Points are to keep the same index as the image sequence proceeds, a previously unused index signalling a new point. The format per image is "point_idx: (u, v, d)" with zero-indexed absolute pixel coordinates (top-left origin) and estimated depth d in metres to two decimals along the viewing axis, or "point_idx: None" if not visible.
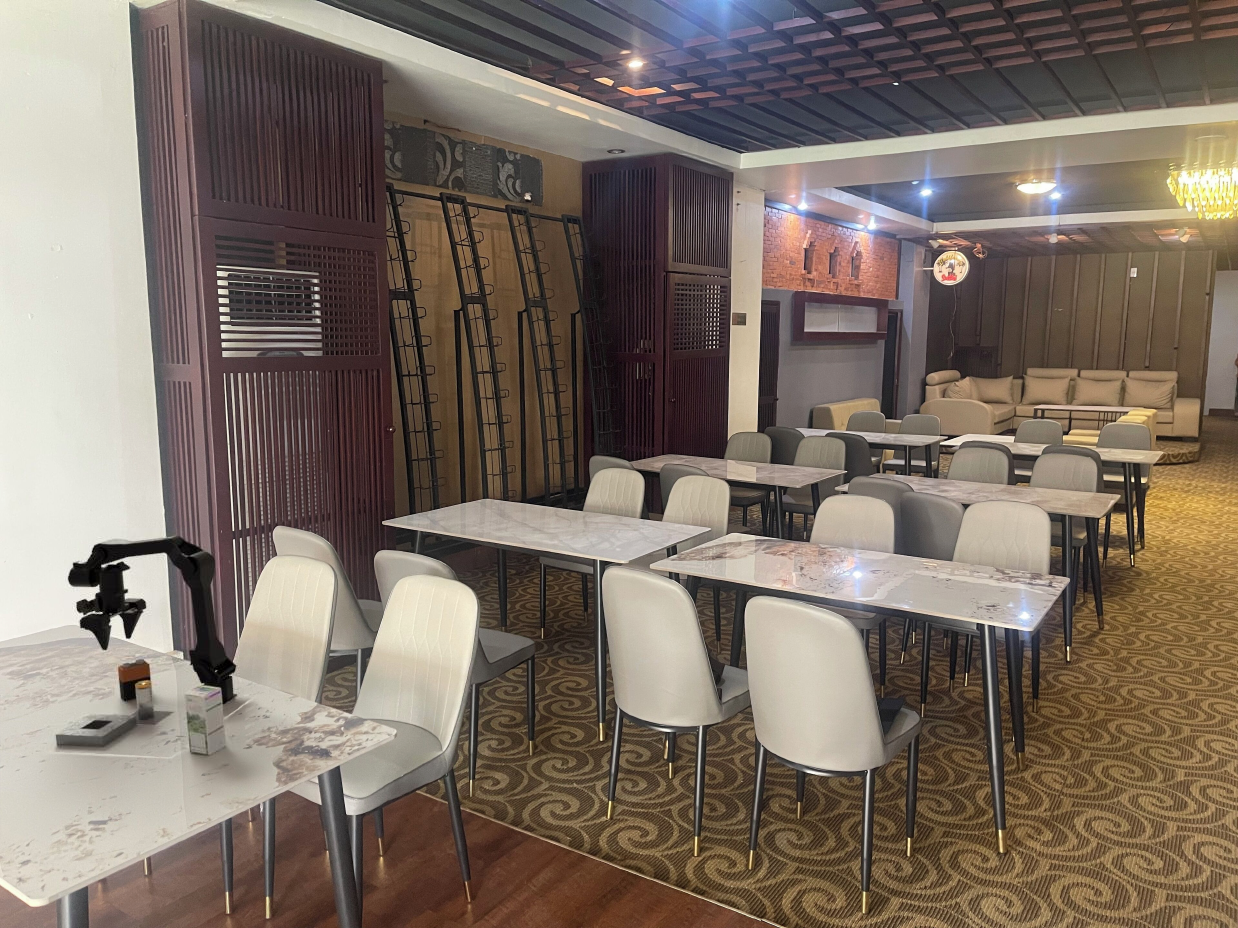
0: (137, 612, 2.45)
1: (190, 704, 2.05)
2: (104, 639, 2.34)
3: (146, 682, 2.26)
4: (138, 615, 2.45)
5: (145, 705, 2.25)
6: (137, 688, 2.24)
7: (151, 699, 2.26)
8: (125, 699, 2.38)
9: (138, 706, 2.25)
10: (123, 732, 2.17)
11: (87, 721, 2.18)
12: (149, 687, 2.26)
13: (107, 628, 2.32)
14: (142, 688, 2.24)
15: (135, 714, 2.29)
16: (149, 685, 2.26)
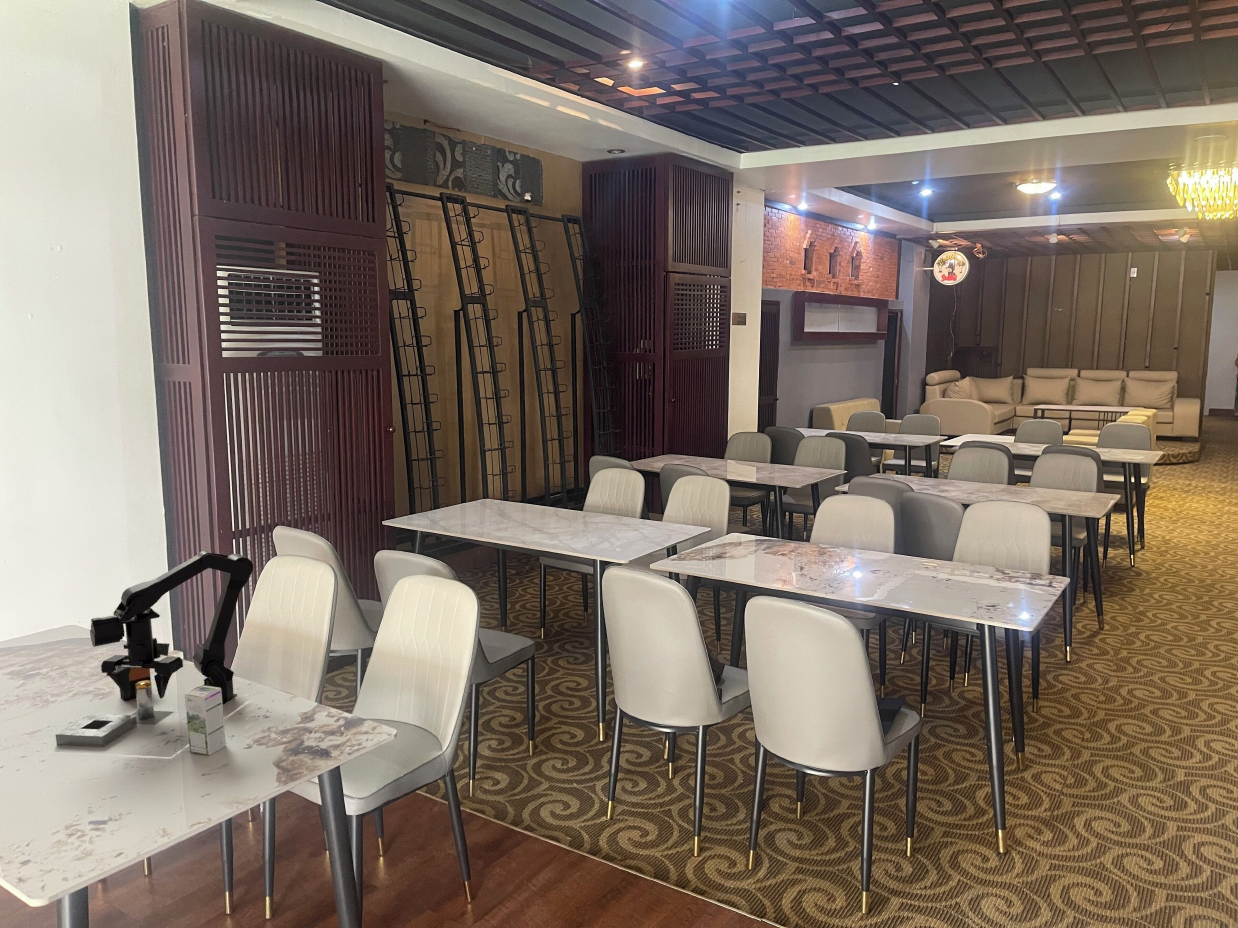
0: None
1: (190, 704, 2.05)
2: None
3: (146, 682, 2.26)
4: (156, 678, 2.22)
5: (145, 705, 2.25)
6: (137, 688, 2.24)
7: (151, 699, 2.26)
8: (125, 699, 2.38)
9: (138, 706, 2.25)
10: (123, 732, 2.17)
11: (87, 721, 2.18)
12: (149, 687, 2.26)
13: (110, 675, 2.24)
14: (142, 688, 2.24)
15: (135, 714, 2.29)
16: (149, 685, 2.26)
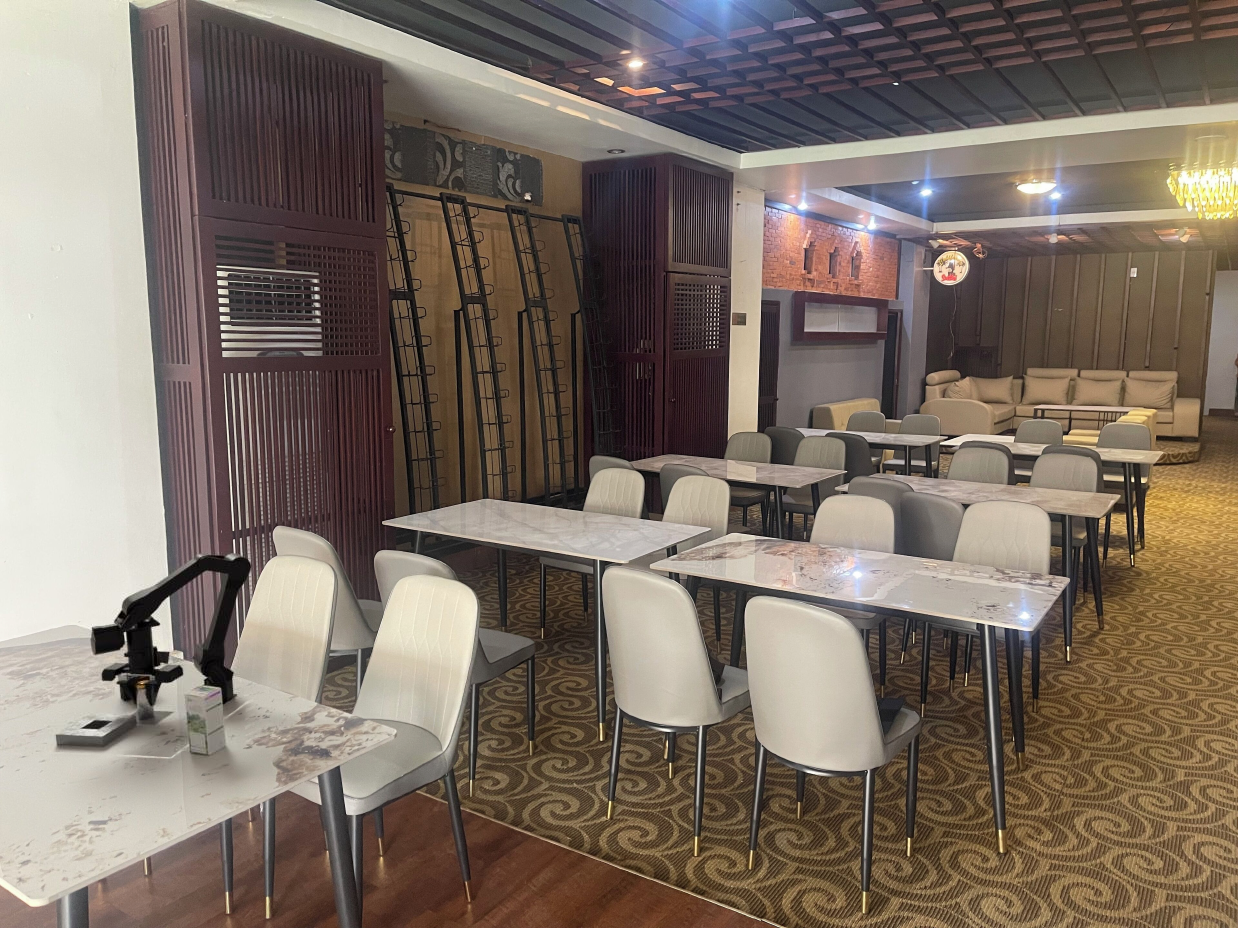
0: (150, 682, 2.23)
1: (190, 704, 2.05)
2: None
3: (146, 682, 2.26)
4: (146, 686, 2.23)
5: (145, 705, 2.25)
6: (137, 688, 2.24)
7: None
8: (125, 699, 2.38)
9: (138, 706, 2.25)
10: (123, 732, 2.17)
11: (87, 721, 2.18)
12: None
13: (120, 684, 2.24)
14: (142, 688, 2.24)
15: (135, 714, 2.29)
16: None
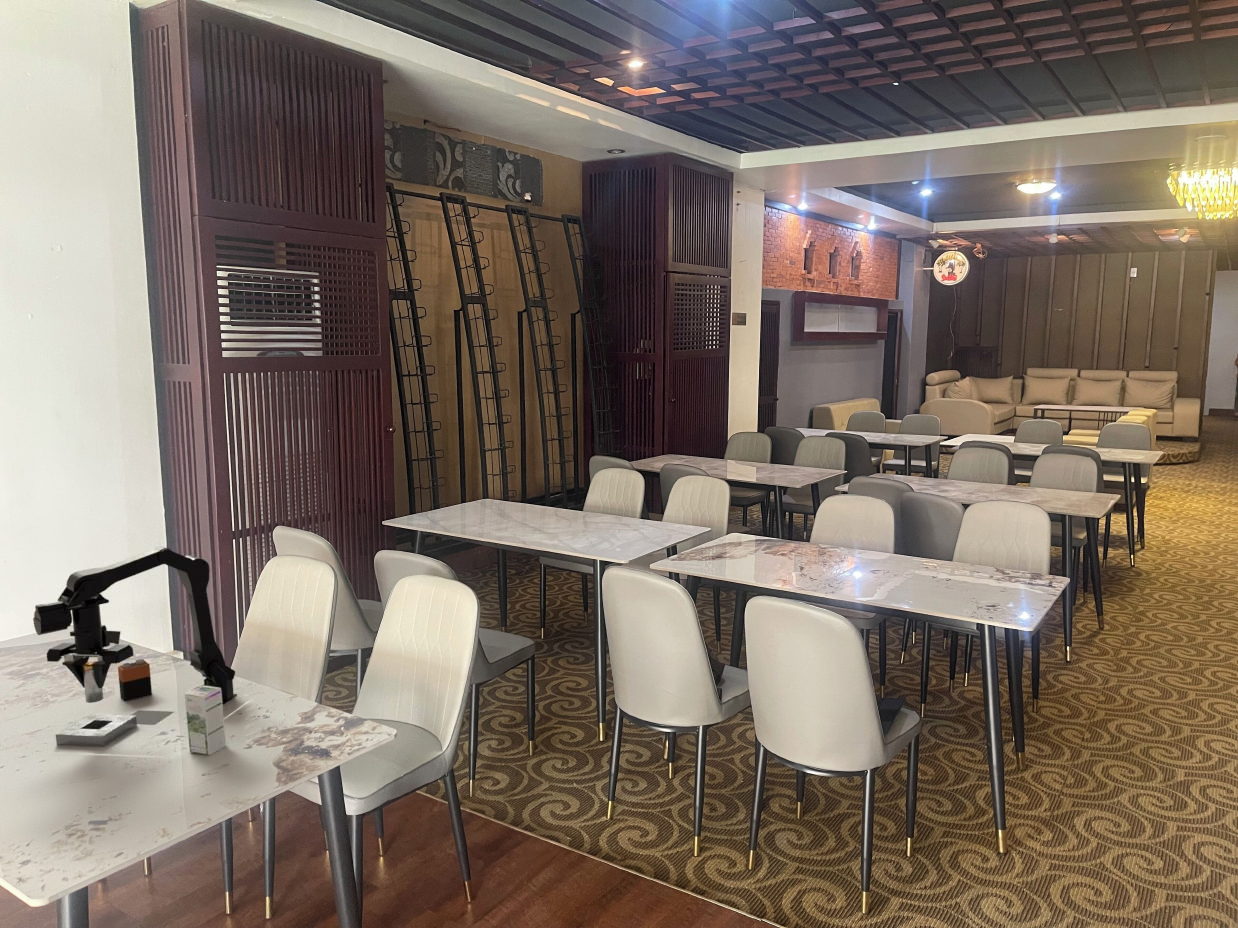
0: (97, 663, 2.12)
1: (190, 704, 2.05)
2: None
3: None
4: (94, 666, 2.12)
5: (92, 686, 2.14)
6: (84, 669, 2.13)
7: None
8: (125, 699, 2.38)
9: (85, 688, 2.14)
10: (123, 732, 2.17)
11: (87, 721, 2.18)
12: None
13: (66, 665, 2.12)
14: (89, 669, 2.13)
15: (135, 714, 2.29)
16: None
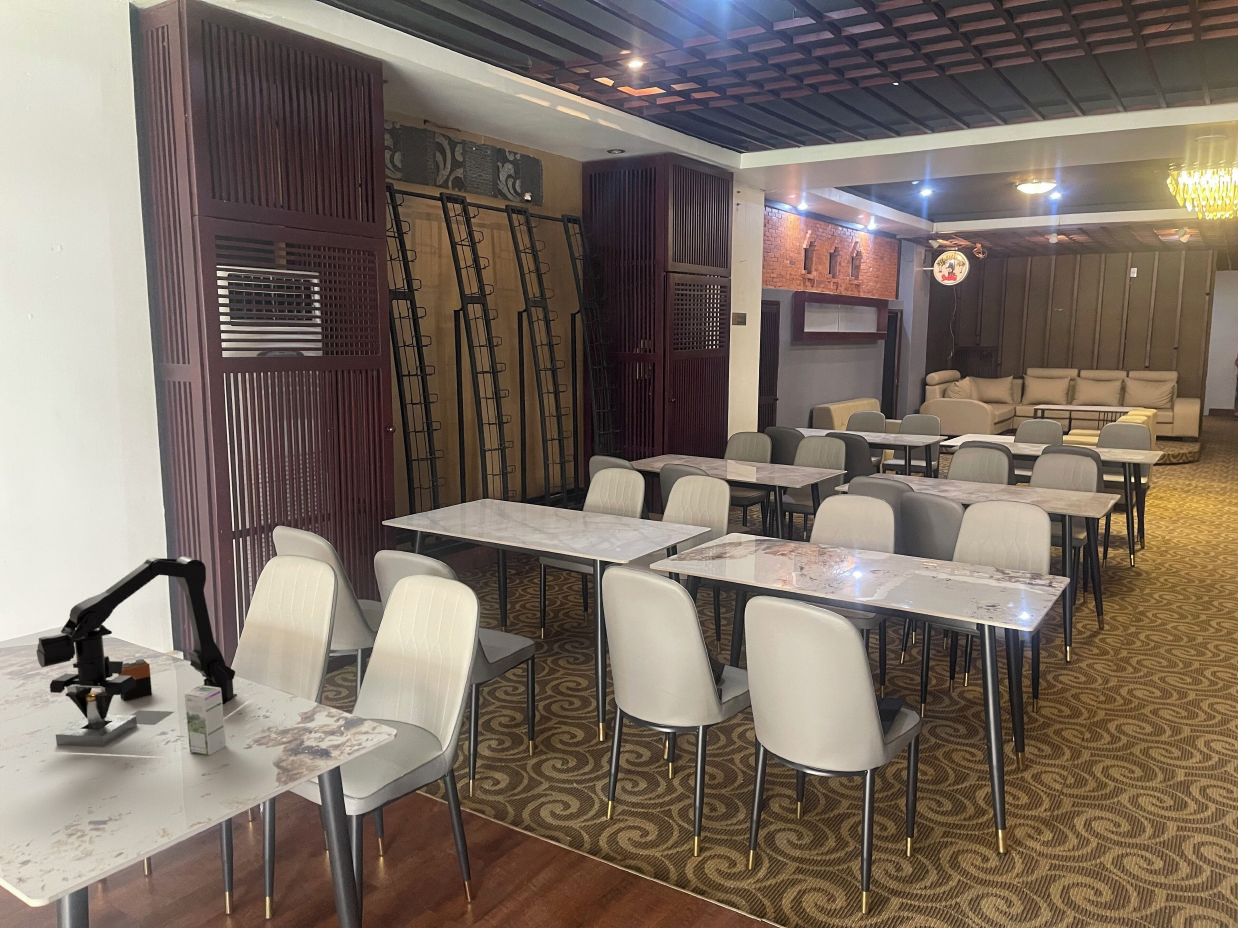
0: (100, 694, 2.13)
1: (190, 704, 2.05)
2: None
3: None
4: (97, 698, 2.13)
5: (95, 717, 2.15)
6: (87, 700, 2.14)
7: None
8: (125, 699, 2.38)
9: (88, 719, 2.15)
10: (123, 732, 2.17)
11: (87, 721, 2.18)
12: None
13: (69, 696, 2.13)
14: (92, 700, 2.14)
15: (135, 714, 2.29)
16: None
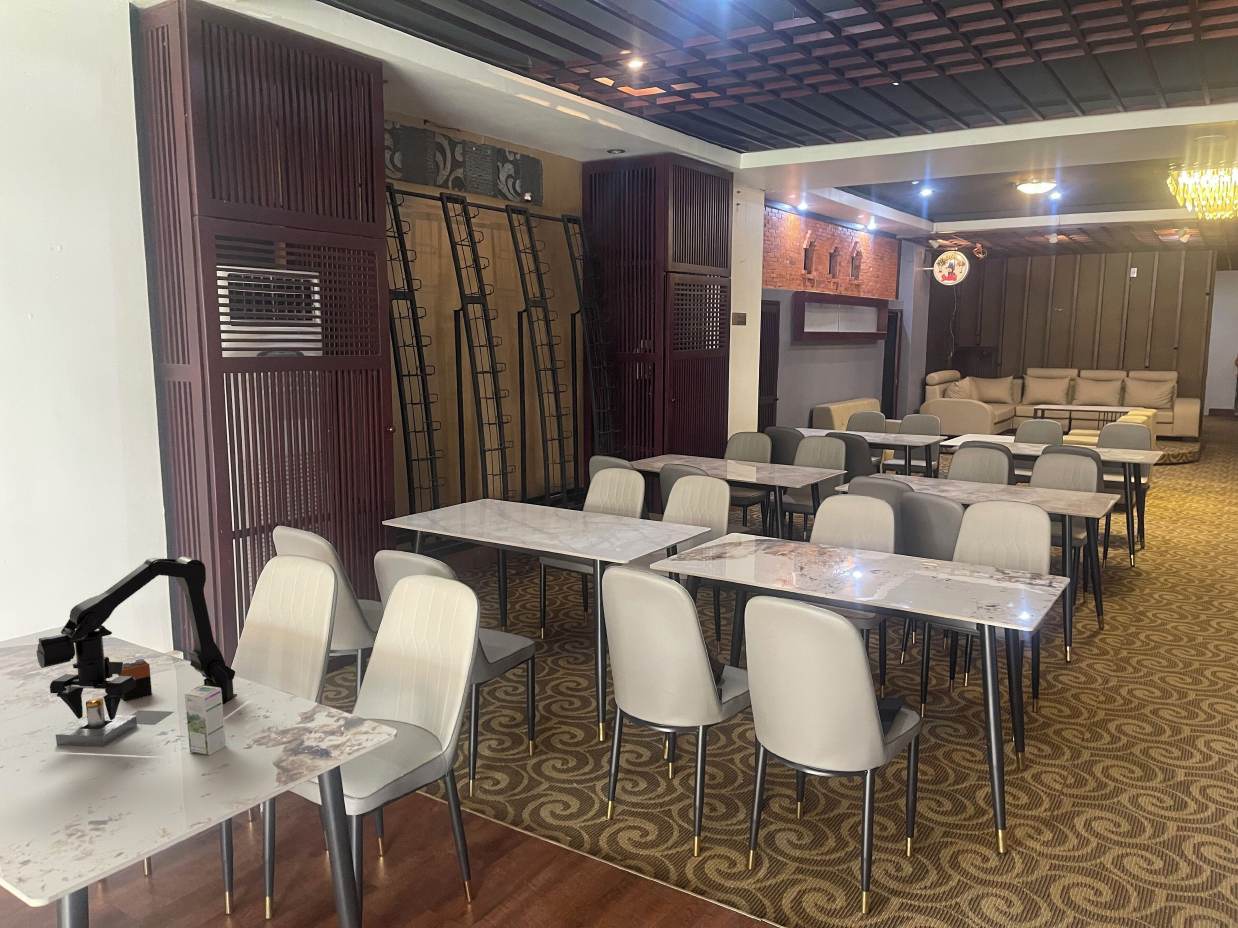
0: (109, 695, 2.13)
1: (190, 704, 2.05)
2: None
3: (97, 700, 2.16)
4: (105, 699, 2.12)
5: (96, 724, 2.15)
6: (88, 706, 2.14)
7: (103, 718, 2.16)
8: (125, 699, 2.38)
9: (89, 725, 2.15)
10: (123, 732, 2.17)
11: (87, 721, 2.18)
12: (100, 705, 2.16)
13: (61, 696, 2.14)
14: (93, 706, 2.14)
15: (135, 714, 2.29)
16: (100, 703, 2.16)
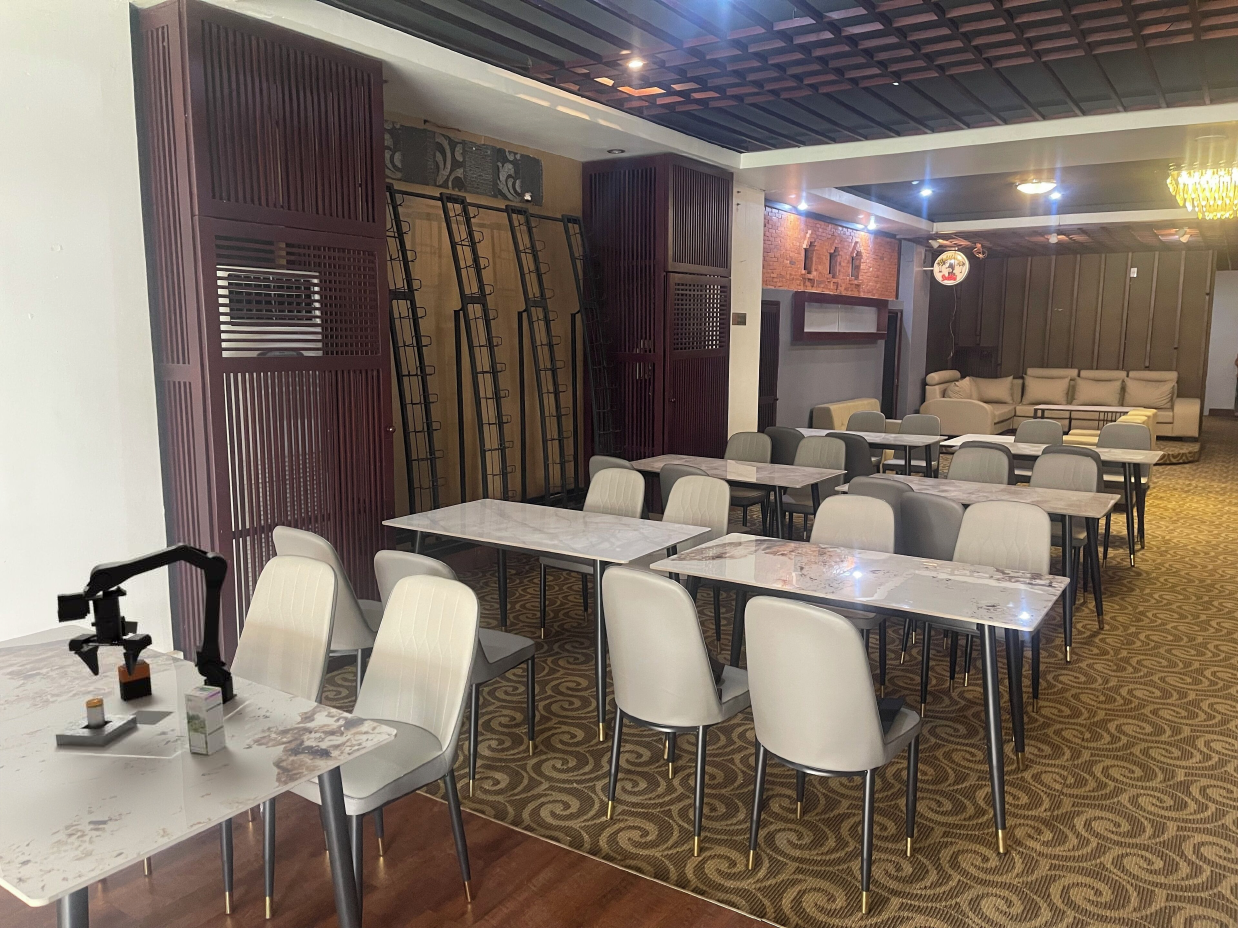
0: None
1: (190, 704, 2.05)
2: None
3: (97, 700, 2.16)
4: (125, 655, 2.21)
5: (96, 724, 2.15)
6: (88, 706, 2.14)
7: (103, 718, 2.16)
8: (125, 699, 2.38)
9: (89, 725, 2.15)
10: (123, 732, 2.17)
11: (87, 721, 2.18)
12: (100, 705, 2.16)
13: (78, 654, 2.22)
14: (93, 706, 2.14)
15: (135, 714, 2.29)
16: (100, 703, 2.16)
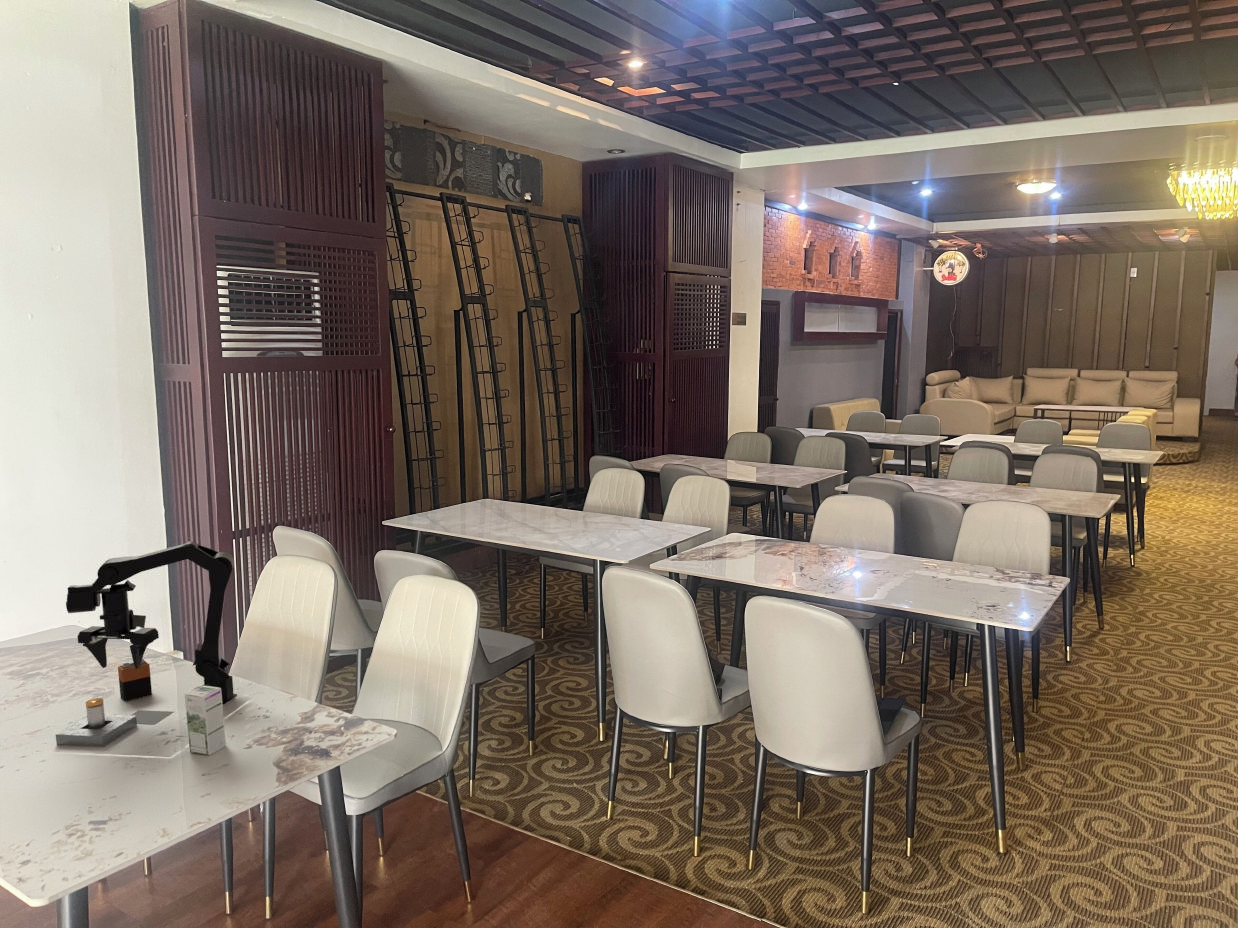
0: (134, 645, 2.26)
1: (190, 704, 2.05)
2: None
3: (97, 700, 2.16)
4: (131, 648, 2.25)
5: (96, 724, 2.15)
6: (88, 706, 2.14)
7: (103, 718, 2.16)
8: (125, 699, 2.38)
9: (89, 725, 2.15)
10: (123, 732, 2.17)
11: (87, 721, 2.18)
12: (100, 705, 2.16)
13: (87, 646, 2.27)
14: (93, 706, 2.14)
15: (135, 714, 2.29)
16: (100, 703, 2.16)
